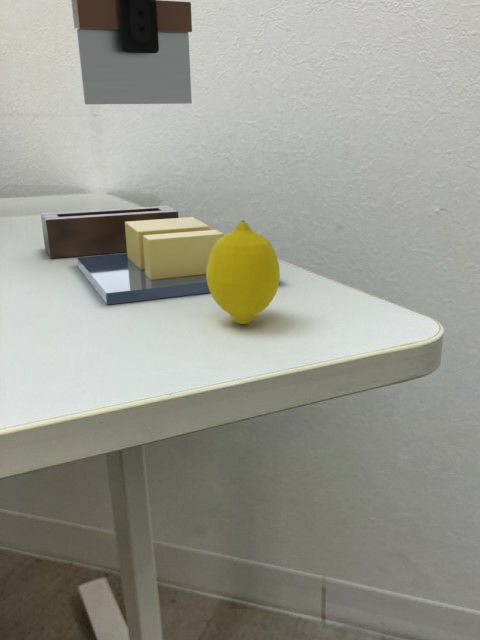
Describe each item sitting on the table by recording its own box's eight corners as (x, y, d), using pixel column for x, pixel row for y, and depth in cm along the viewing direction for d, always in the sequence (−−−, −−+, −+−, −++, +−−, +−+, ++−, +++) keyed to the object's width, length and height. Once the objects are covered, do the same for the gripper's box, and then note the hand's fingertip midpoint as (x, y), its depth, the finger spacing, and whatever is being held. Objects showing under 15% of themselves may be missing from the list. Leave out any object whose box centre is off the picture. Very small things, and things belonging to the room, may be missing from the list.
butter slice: (151, 280, 59) (148, 239, 57) (145, 274, 60) (142, 235, 59) (224, 272, 61) (224, 233, 60) (217, 267, 63) (216, 229, 62)
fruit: (279, 312, 54) (281, 213, 51) (278, 335, 49) (280, 228, 46) (211, 310, 54) (209, 212, 51) (204, 334, 49) (200, 226, 46)
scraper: (87, 104, 58) (76, -5, 55) (82, 103, 60) (71, -2, 57) (195, 103, 62) (191, 1, 59) (187, 103, 64) (182, 4, 61)
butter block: (140, 270, 61) (137, 231, 60) (127, 258, 66) (124, 221, 64) (211, 263, 64) (210, 226, 63) (194, 251, 68) (193, 216, 67)
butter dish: (106, 304, 55) (105, 293, 55) (78, 267, 66) (77, 257, 65) (279, 284, 62) (279, 274, 61) (227, 253, 72) (227, 244, 72)
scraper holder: (50, 258, 69) (45, 219, 67) (45, 250, 72) (40, 213, 70) (179, 247, 74) (178, 211, 73) (169, 240, 78) (167, 205, 76)
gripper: (51, -183, 57) (76, 54, 64) (90, -261, 44) (115, 49, 51) (137, -168, 60) (150, 56, 68) (197, -237, 47) (206, 51, 54)
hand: (135, 51), depth 59 cm, fingers closed on scraper, 2 cm apart
